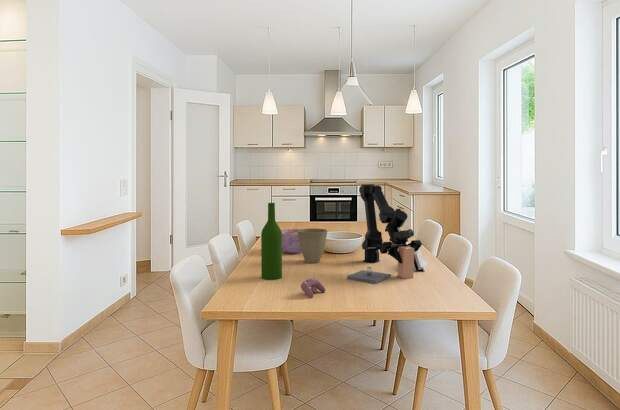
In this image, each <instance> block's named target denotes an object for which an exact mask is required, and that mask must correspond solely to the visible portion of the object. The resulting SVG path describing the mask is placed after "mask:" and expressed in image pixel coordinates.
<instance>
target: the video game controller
mask: <svg viewBox="0 0 620 410" xmlns="http://www.w3.org/2000/svg"><path fill="white" fill-rule="evenodd" d="M300 288H301V291H302V292H303V293H304V294H305V295H306V296H307V297H309V298H311V299H312V298H314V294H316V293H317V290H318V291H319V292H321V293H323V294H324V293H326V287H325V286H324V285H323V284H322V283H321V282H320V281H319V280H318V279H317V278H308V279H305V280H304V281H303V282H302V283H301V284H300Z"/></svg>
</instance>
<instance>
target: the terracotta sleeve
mask: <svg viewBox="0 0 620 410" xmlns="http://www.w3.org/2000/svg"><path fill="white" fill-rule="evenodd" d="M398 252H399V255H400V257H401V259H402V264H401V263H399V262H398V261H397V277H399V278H401V279H413V278H414V272H415V271H414V248H412V247H409V246H404V247H398Z"/></svg>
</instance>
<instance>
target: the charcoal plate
mask: <svg viewBox="0 0 620 410" xmlns="http://www.w3.org/2000/svg"><path fill="white" fill-rule="evenodd" d="M391 276H392V274H391V273H386V272H378V271H372V275H371V276H368V275H367V269H362V270H358V271H357V272H353V273H351V274H349V275H347V277H346V279H347V280H352V281H358V282H363V283H371V284H379V283H381V282H383V281H386V280H387V279H389V278H391Z"/></svg>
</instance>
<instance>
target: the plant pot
mask: <svg viewBox="0 0 620 410" xmlns="http://www.w3.org/2000/svg"><path fill="white" fill-rule="evenodd" d="M299 229H300V230H298V237H299V243H300V247H301V253H302V256H303V259H304V262H305V263H307V264H317V263H320V262H321V259H322V257H323V255H324V251H325V246H326V242H327V235H328V229H324V228H315V227H314V228H311V227H310V228H302V229H301V228H299Z"/></svg>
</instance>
